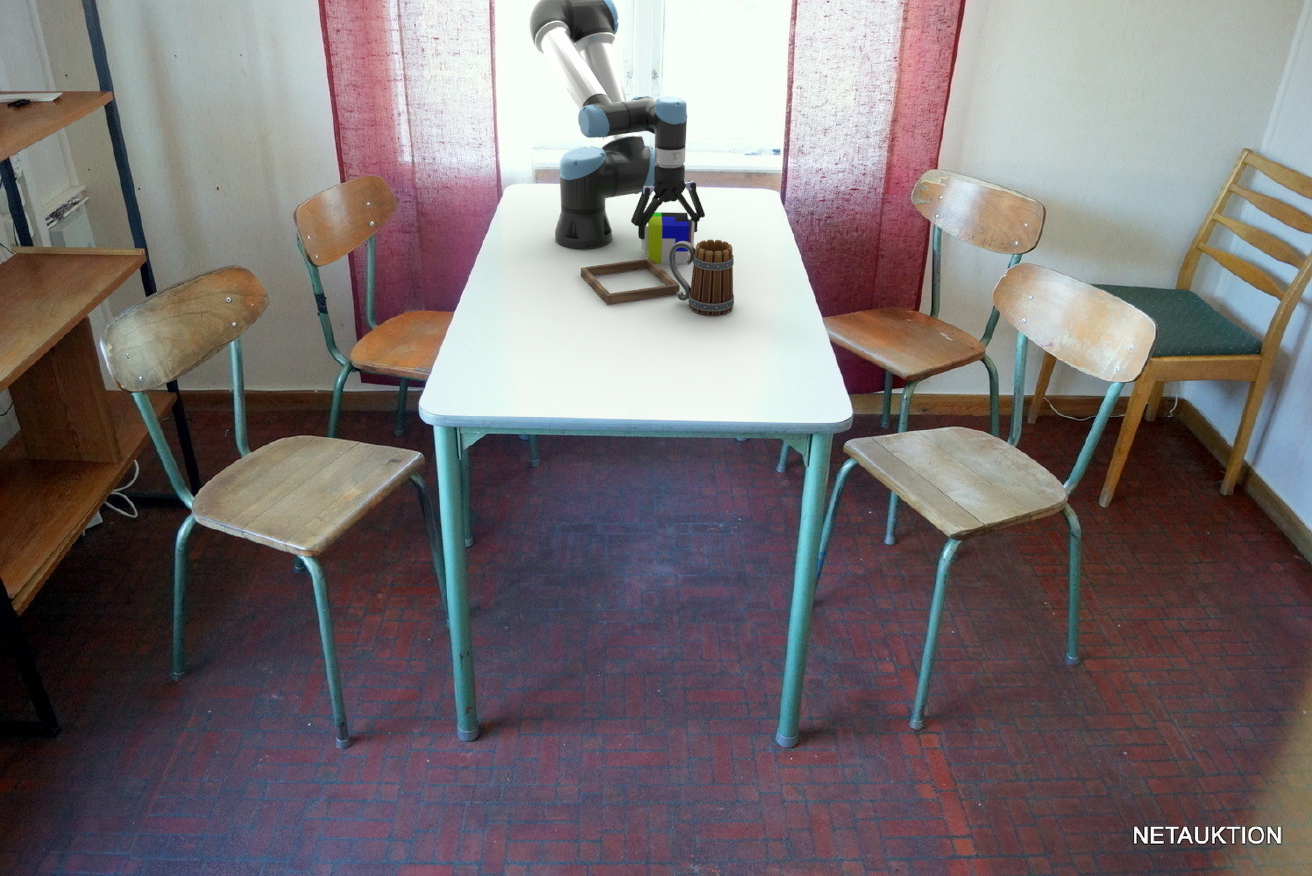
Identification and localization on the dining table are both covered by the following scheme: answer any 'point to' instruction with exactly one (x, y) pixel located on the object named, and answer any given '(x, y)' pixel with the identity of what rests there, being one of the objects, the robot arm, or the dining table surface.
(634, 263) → the square wooden frame
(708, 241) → the mug
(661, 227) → the puzzle toy
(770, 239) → the dining table surface
